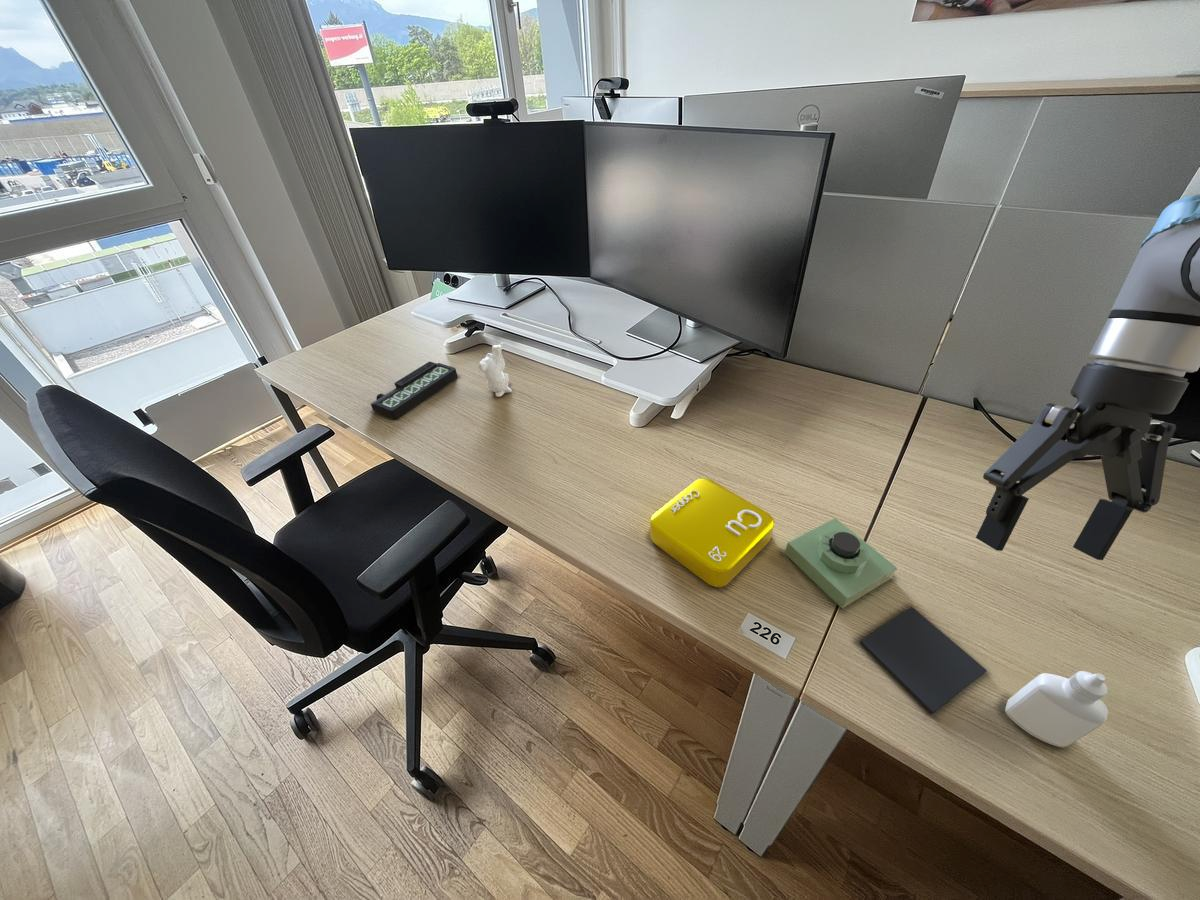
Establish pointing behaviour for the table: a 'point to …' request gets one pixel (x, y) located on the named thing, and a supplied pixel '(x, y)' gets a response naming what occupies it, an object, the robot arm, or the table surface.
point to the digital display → (414, 389)
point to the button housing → (839, 564)
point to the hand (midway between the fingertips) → (1038, 549)
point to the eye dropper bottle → (1060, 707)
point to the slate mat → (922, 659)
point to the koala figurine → (495, 371)
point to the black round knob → (845, 545)
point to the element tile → (711, 531)
